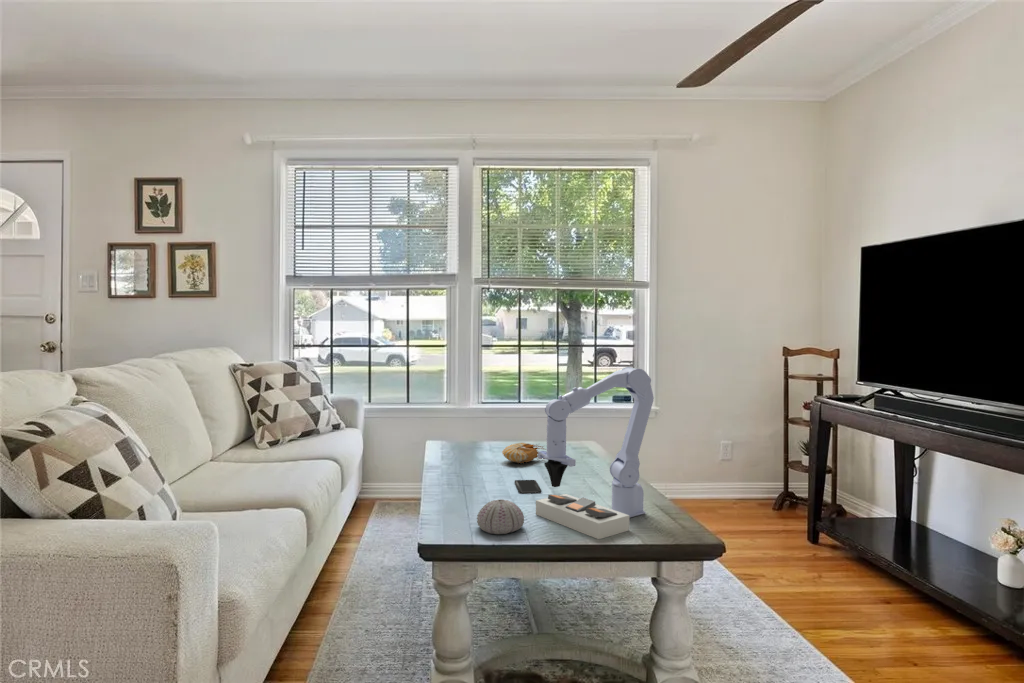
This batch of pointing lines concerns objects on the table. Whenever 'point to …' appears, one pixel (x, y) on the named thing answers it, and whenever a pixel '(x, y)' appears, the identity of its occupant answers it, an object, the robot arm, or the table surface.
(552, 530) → the table surface
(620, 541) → the table surface
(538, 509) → the rocker switch panel
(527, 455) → the nautilus
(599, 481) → the table surface
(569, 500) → the rocker
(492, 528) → the sea urchin shell
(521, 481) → the phone
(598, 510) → the rocker
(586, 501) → the rocker middle
